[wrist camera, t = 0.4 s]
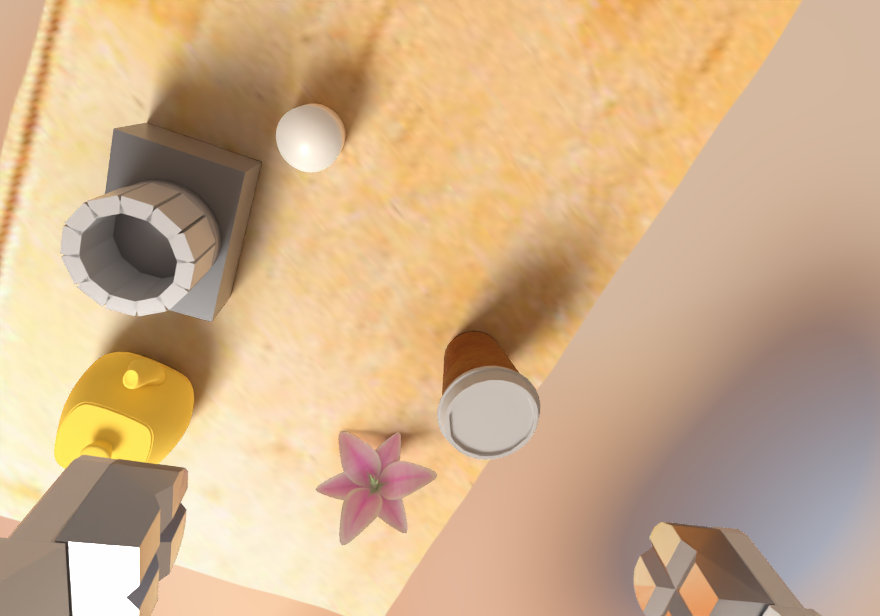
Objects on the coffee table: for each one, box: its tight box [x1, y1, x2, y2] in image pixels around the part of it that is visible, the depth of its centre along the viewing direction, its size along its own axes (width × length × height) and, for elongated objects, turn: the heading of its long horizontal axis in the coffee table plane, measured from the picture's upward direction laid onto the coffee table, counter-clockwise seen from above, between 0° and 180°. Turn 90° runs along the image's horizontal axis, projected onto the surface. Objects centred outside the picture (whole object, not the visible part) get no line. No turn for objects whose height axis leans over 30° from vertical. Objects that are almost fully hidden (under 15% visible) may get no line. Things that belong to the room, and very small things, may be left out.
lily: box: [316, 431, 437, 545], centre depth 60 cm, size 12×12×10 cm
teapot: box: [54, 352, 194, 469], centre depth 52 cm, size 18×11×11 cm, turn 149°
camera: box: [60, 123, 262, 322], centre depth 44 cm, size 14×10×13 cm
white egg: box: [276, 103, 345, 172], centre depth 46 cm, size 5×5×5 cm
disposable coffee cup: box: [437, 331, 540, 460], centre depth 53 cm, size 10×10×12 cm
